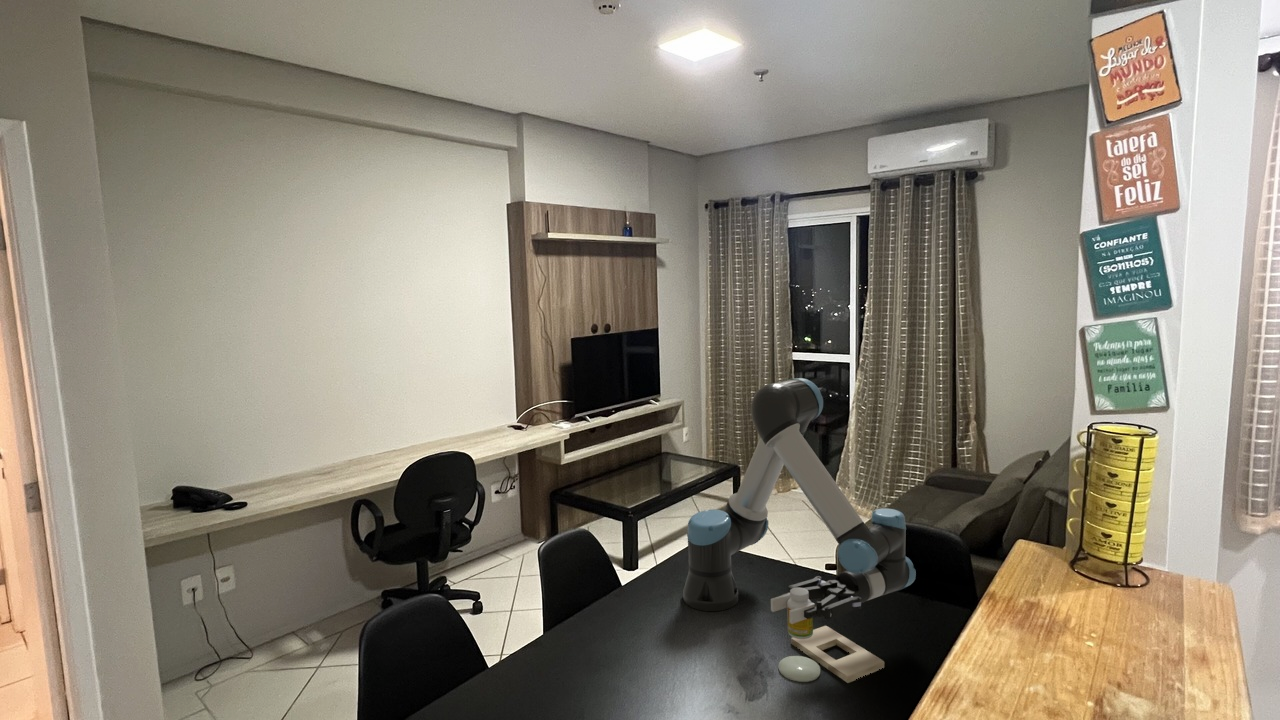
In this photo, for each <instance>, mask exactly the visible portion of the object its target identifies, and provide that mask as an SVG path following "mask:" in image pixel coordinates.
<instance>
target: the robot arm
mask: <svg viewBox="0 0 1280 720" xmlns="http://www.w3.org/2000/svg"><path fill="white" fill-rule="evenodd" d="M823 408H824V398H823V396H822V392H821V391H820V389H819V387H818V386H817V385H816V384H815V383H814V382H813V381H811V380H809V379H807V378H802V377H799V378H798V377H797V378H795V377H794V378H790V379H788V380H787V379H786V380H783V381H777V382H773V383H772V382H771V383H768V384H765V385H763V386H762V387H760V388H759V389H758V390H757V391H756V393H755V394H754V396H753V398H752V400H751V405H750V414H751V415H750V416H751V419H752V423H753V425H754V428H755V430H756V432H757V434H758V435H759V437H760V438H759V440H758V443H757V445H756V447H755V449H754V452H753V455H752V457H751V459H750V461H749V464H748V466H747V468H746V471H745V473H744V476H743V478H742V481H741V484H740V486H739V488H738V491H737V492H735V493H733V494H731V495H730V496H729V498H728V500H727V503H726V505H725V507H724V509H723V510H720V509H708V510H705V509H704V510H701V511H698V512H696V513H694V514H693V515H692V516H691V517H690V518H689V519H688V522H687V532H686V534H687V535H686V536H687V553H688V554H687V555H688V573H687V576H686V580H685V584H684V587H683V590H682V593H683V594H682V595H683V597H682V598H683V602H684V603H685V604H686V605H687V606H689V607H691V608H692V609H695V610H700V611H702V612H703V611H704V612H721V611H725V610H728V609H730V608H731V609H732V607H734V606H736V604H737V603H738V602H739V589H738V586H737V583H736V581H735V578H734V574H733V572H732V555H734V554H736V553H738V552H740V551H742V550H743V549H744V550H745V548H747V547H749V546H753V545H755V544H756V543H758V542H759V541H761V540H762V538H764V537H765V535H766V534H767V532H768V529H769V520H768V514H769V510H768V508H767V503H768V501H769V499H770V496H771V494H772V493H773V490H774V488H775V485H776V483H777V481H778V479H779V477H780V475H781V472H782V470H783V467H785V469H786V470H787V471H788V472H789V474H790V476H791V477H792V478H793V479H794V481H795V483H796V485H798V487H799V488H800V490H801V491H802V493H803V495H804V496H805V497H806V498H807V500H808V501H809V503H810V504H811V506H812V507H813V509H814V510H815V511H816V514H817V515H818V516H819V517H820V519H821V520H822V522H823V524H824V525H825V526H826V528H827V529H828V531H829V532H830V534H831V535H832V536H833V538H834V539H835V541H836V542H837V544H838V545H839V547H838V549H837V556H838V561H839V563H840V565H841V566H842V567H843V569H844V571H842V572H839V573H838V575H837V576H836V578H835V579H829V580H827V581H825V580H822V576H820V575H817V576H815V577H814V578H811V579H807V580H805V581H801V582H797V583H795V584H790V585H788V589H787V590H788V592H787V593H783V594H781V595H778V596H776V597H772V598H770V611H771V612H772V613H774V612H777V611H781V610H784V609H787V602H788V600H789V599H790V590H791V589H792V588H796V587H800V588H804V589H807V590H808V592H809V600H810V601H811V600H816V601H815V603H814V602H812V603H810V604H807V605H804V606H801V607H798V608H795V609H792V610H789V623H791V624H793V623H796V622H799V621H802V620H805V619H810V618H813V619H814V618H815V617H819V618H821V617H824V620H827V621H828V620H829V621H830V620H832V619H835V618H836V617H840V616H842V615H844V614H845V615H846V614H848V613H849V612H853V611H860V610H862V603H865V602H868V601H871V600H874V599H876V598H878V597H882V596H885V595H888V594H891V593H895V592H897V591H901V590H903V589H906V588H907V587H909V586H911V585H912V584H913V583H914V582H915V580H916V576H917V575H916V574H917V573H916V569H915V567H914V564H913V562H912V560H911V559H910V558H909V557H907V556H906V535H907V534H906V530H907V527H906V517H905V515H904V513H903V512H902V511H900V510H897V509H894V508H893V509H892V508H886V507H885V508H882V507H881V508H878V509H875V510H873V511H872V513H871V520H870V523H871V525H869V526H867V525H866V523H865V522H864V521H863V519H862V518H861V516H860V515H859V514H858V512H857V511H856V509H855V508H854V506H853V505H852V504H851V502H850V500H849V499H848V498H847V496H846V495H845V493H844V492H843V491H842V490H841V488H840V487H839V485H838V483H837V482H836V481H835V479H834V478H833V477H832V475H831V474H830V472H829V471H828V470H827V469H826V467H825V465H824V464H823V462H822V461H821V459H820V458H819V457H818V456H817V454H816V453H815V451H814V449H812V447H811V445H810V444H809V443H808V441H807V440H806V438H804V435H805V433H806V431H807V428H808V426H809V424H810V422H811V421H813V420H815V419H817V418H818V417H819V416H820V414H821V413H822V411H823ZM817 599H818V600H819V599H821V601H818V600H817Z"/></svg>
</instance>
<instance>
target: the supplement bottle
mask: <svg viewBox="0 0 1280 720" xmlns="http://www.w3.org/2000/svg"><path fill="white" fill-rule="evenodd" d="M810 603H813V602H812V601H811V600H809V592H808V590H807V589H804V588H800V587H796V588H792V589H791V590H790V599H789V600H788V602H787V608H786V610H787V613H786V615H787V633H788V634H789V636H790V637H791V638H792V637H794V638H797V639H807V638H810V637H811V636H812V635H813V630H814V625H813V624H814V622H813V621H814V617H813V618H810V619H805V620H802V621H799V622H796V623H793V624H791V623H789V610H792V609H795V608H798V607H801V606H804V605H807V604H810Z"/></svg>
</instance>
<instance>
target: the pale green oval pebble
mask: <svg viewBox="0 0 1280 720" xmlns="http://www.w3.org/2000/svg"><path fill="white" fill-rule="evenodd" d="M778 671H779V673H780V675H782V676H783V677H784V678H786V679H787V680H789V681H794V682H798V683H808V682H814V681H815V680H817V679H818V678H819V677H820V676H821V666H820V665H819V663H818V662H817V661H815V660H814V659H812V658H809V657H807V656H801V655H790V656H786V657H783V658H782V659H780V661H779V663H778Z"/></svg>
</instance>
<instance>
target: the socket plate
mask: <svg viewBox="0 0 1280 720" xmlns="http://www.w3.org/2000/svg"><path fill="white" fill-rule="evenodd" d="M790 643H791V645H792V646H794V647H795V648H796V647H797V648H796V649H798V650H799V649H800V650H799V651H801V652H802V651H803V654H805V655H806V656H808V658H809V657H810V659H812V660H813V661H815V662H816V663H817V664H819V663H820V665H821V666H822V667H824V668H826V669H827V670H828V671H830V673H833V674H834V675H835V676H836V677H838V678H840V679H841V680H842V681H844V682H845V683H847V684H849V683H852V682H854V681H857V680H859V679H861V678H863V676H864V677H866V676H869V675H870V673H871V674H873V673H876V672H877V671H880V670H883V669H884V668H885V661H884V660H883V659H881V658H880V657H878V656H876V655H875V654H874V653H871V651H868V650H866V649H865V648H864V647H862V646H860V645H858V644H856V642H854V641H852V640H851V639H849V638H847V637H846V636H844V635H842V634H840V633H839V632H837V631H836V630H834V629H833V628H831V627H829V626H827V625H823V626H820V627H818V628H814V629H813V635H812V636H811V637H810V638H807V639H797V638H794V637H792V636H791V637H790ZM835 646H837V647H839V648H841V649H842V650H844V651H845V652H846V653H848V652H849V653H848V654H847V655H846V656H843V657H841V658H838V659H835V658H834V657H832V656H830V655H829V654H827V653H826V652H824V650H826V649H830V648H832V647H835ZM882 668H883V669H882ZM879 669H880V670H879ZM865 675H866V676H865ZM860 677H861V678H860ZM858 678H859V679H858ZM856 679H857V680H856Z"/></svg>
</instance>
